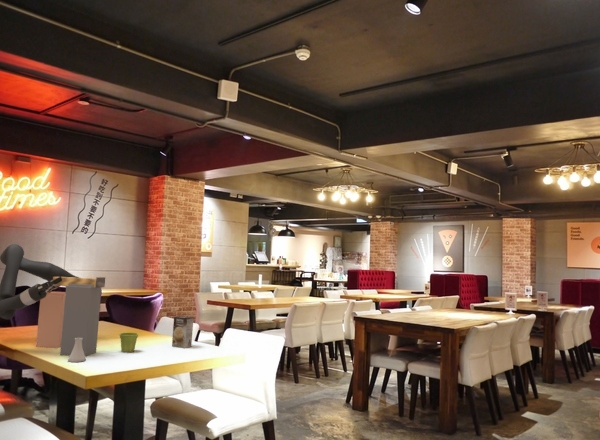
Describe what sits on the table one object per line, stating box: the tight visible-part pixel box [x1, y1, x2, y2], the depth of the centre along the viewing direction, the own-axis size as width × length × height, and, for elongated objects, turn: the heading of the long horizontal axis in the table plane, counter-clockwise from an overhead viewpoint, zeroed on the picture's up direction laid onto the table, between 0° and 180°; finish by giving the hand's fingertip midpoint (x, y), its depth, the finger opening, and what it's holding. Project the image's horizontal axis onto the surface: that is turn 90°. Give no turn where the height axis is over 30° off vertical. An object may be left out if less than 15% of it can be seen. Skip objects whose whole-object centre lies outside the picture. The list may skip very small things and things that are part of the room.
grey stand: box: [59, 284, 102, 357], centre depth 235 cm, size 12×11×33 cm
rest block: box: [35, 291, 66, 349], centre depth 253 cm, size 12×10×27 cm
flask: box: [67, 338, 87, 363], centre depth 218 cm, size 7×7×10 cm
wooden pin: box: [53, 276, 106, 289], centre depth 237 cm, size 24×5×5 cm, turn 86°
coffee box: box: [171, 315, 194, 349], centre depth 266 cm, size 9×6×16 cm
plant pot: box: [118, 332, 140, 353], centre depth 245 cm, size 9×9×9 cm
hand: (63, 278), depth 238 cm, fingers closed on wooden pin, 4 cm apart
